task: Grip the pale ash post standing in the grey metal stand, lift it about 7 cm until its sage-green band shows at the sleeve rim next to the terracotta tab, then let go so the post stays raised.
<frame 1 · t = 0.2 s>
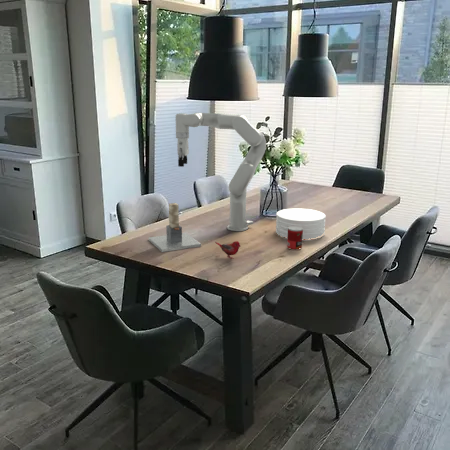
hand: (182, 165, 292), 37 cm above the table, tool pointing down, fingers open, 9 cm apart
plate stack: (299, 233, 291), on the table
ash post: (173, 222, 268), point 12 cm above the table, slide at 0.0 cm
canned food: (294, 248, 265), on the table
decorative bird figurine: (227, 257, 250), on the table
metal stand: (174, 243, 271), on the table
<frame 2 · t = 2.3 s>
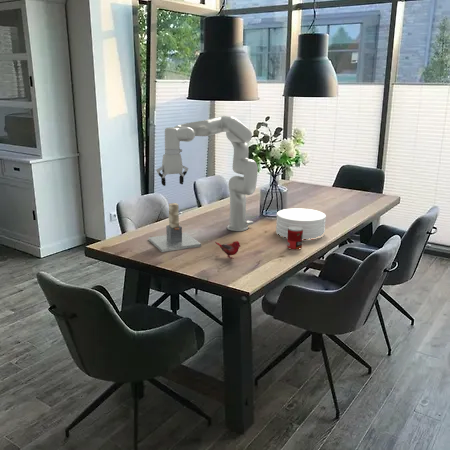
hand: (172, 184, 262), 32 cm above the table, tool pointing down, fingers open, 9 cm apart
nothing on the table moved.
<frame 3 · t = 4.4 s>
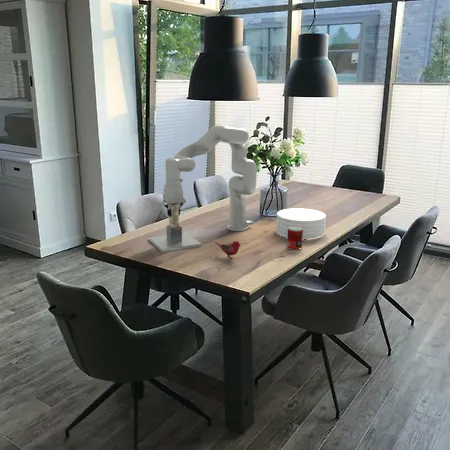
hand: (173, 215, 267), 16 cm above the table, tool pointing down, fingers closed on ash post, 4 cm apart
ash post: (173, 222, 268), point 12 cm above the table, slide at 0.0 cm, touching gripper
everything else where it was.
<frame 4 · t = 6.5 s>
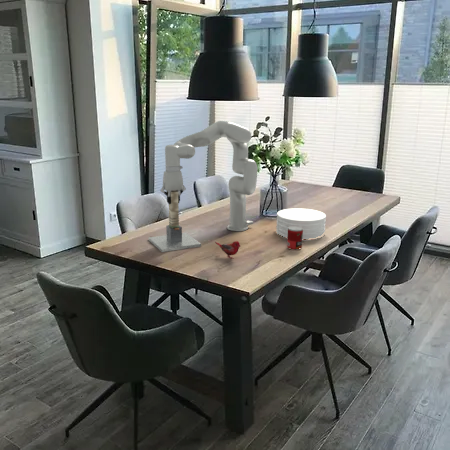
hand: (173, 202, 265), 23 cm above the table, tool pointing down, fingers closed on ash post, 4 cm apart
ash post: (173, 209, 266), point 19 cm above the table, slide at 6.9 cm, touching gripper
everything else where it was.
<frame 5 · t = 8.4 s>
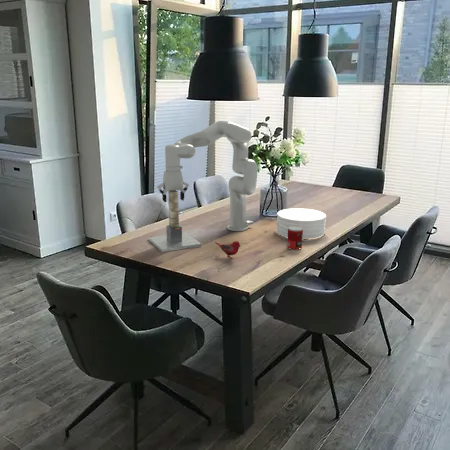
hand: (173, 200, 264), 24 cm above the table, tool pointing down, fingers open, 9 cm apart
ash post: (173, 209, 266), point 19 cm above the table, slide at 7.0 cm
everything else where it was.
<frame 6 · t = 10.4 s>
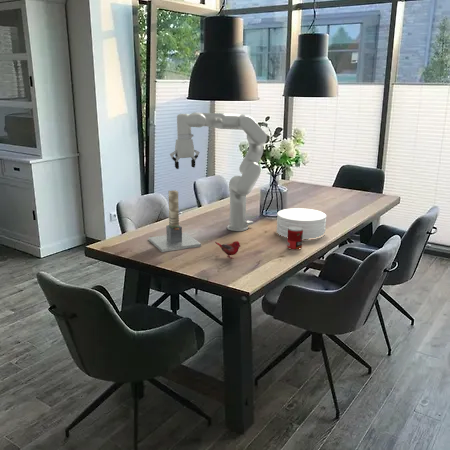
hand: (185, 167, 278), 38 cm above the table, tool pointing down, fingers open, 9 cm apart
nothing on the table moved.
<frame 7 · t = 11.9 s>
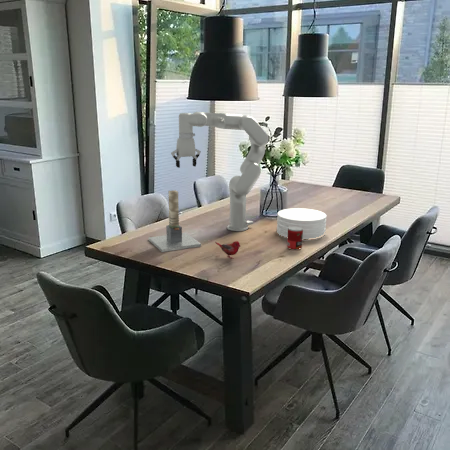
hand: (186, 166, 280), 38 cm above the table, tool pointing down, fingers open, 9 cm apart
nothing on the table moved.
at the end: ash post slide at 7.0 cm; the gripper is holding nothing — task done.
